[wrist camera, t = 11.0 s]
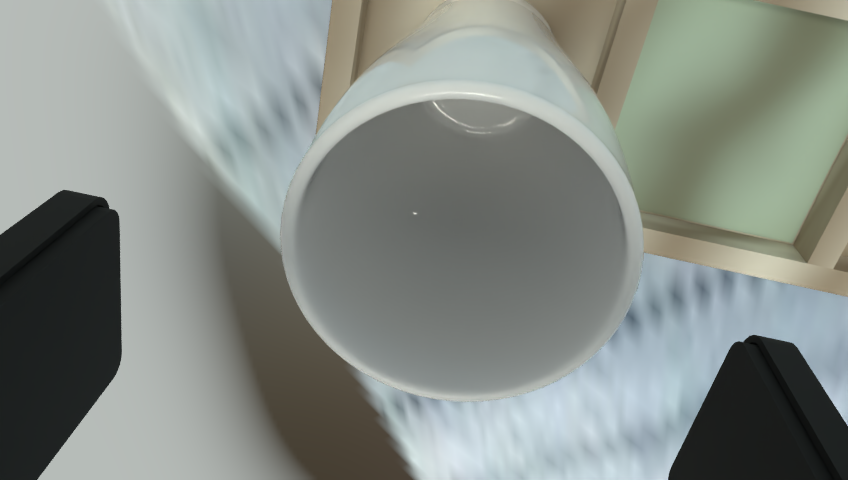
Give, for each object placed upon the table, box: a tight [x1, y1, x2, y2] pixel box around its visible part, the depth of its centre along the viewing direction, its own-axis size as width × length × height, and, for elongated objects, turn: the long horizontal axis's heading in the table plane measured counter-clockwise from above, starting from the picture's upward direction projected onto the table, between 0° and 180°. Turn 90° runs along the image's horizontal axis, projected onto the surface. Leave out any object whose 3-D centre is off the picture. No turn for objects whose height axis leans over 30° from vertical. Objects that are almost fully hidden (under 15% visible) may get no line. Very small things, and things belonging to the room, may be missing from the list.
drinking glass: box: [280, 0, 644, 402], centre depth 19 cm, size 7×7×15 cm
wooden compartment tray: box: [316, 0, 848, 297], centre depth 26 cm, size 30×11×2 cm, turn 79°
